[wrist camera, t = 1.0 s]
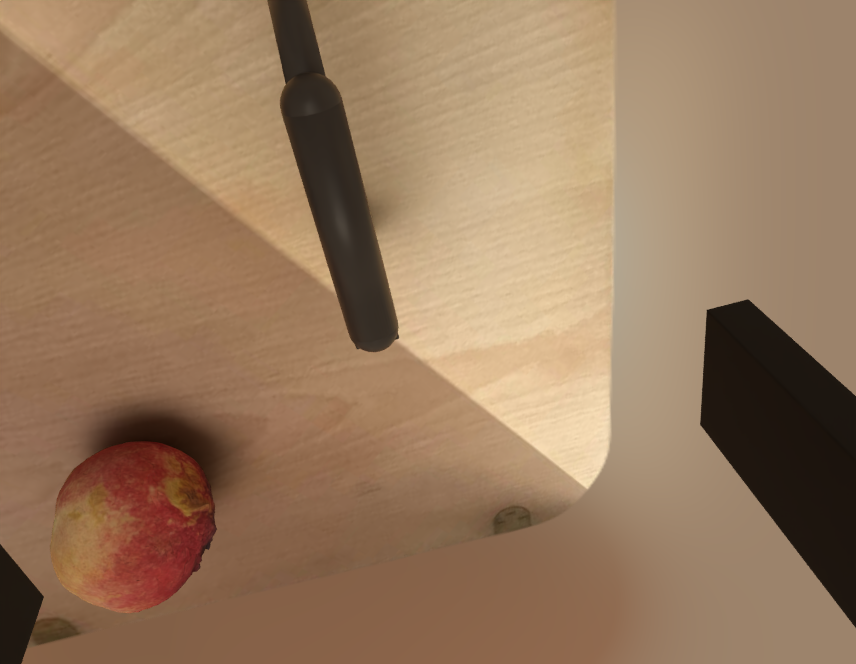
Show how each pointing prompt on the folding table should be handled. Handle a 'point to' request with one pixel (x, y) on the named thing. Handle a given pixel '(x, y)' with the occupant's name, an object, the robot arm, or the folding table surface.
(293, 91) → the ladle
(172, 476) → the fruit
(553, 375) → the folding table surface
